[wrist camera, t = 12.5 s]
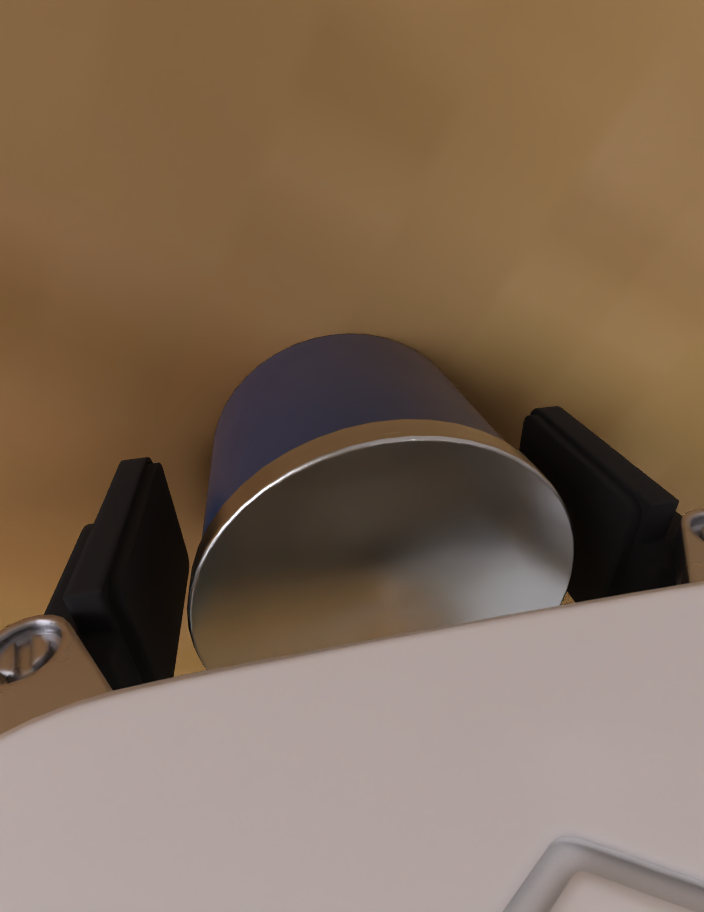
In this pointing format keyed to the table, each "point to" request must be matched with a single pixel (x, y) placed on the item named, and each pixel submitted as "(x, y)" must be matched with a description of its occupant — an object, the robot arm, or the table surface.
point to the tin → (364, 508)
